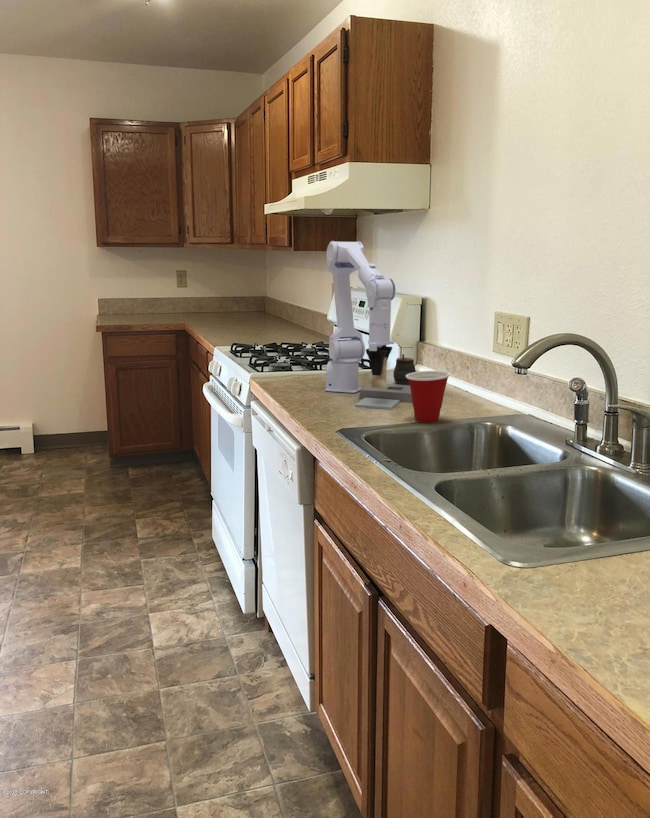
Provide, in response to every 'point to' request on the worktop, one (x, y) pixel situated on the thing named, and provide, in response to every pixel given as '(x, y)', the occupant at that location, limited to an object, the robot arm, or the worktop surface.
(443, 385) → the plastic cup
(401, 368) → the mate gourd
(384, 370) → the plug
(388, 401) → the mat
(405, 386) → the grey flat plate
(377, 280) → the robot arm
